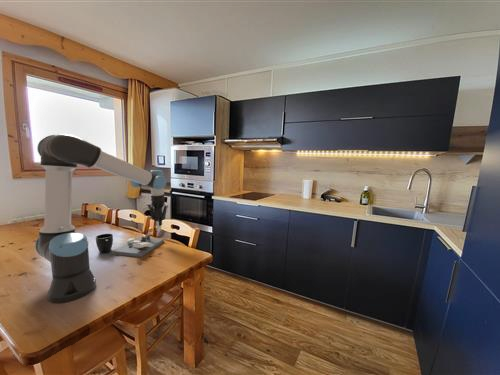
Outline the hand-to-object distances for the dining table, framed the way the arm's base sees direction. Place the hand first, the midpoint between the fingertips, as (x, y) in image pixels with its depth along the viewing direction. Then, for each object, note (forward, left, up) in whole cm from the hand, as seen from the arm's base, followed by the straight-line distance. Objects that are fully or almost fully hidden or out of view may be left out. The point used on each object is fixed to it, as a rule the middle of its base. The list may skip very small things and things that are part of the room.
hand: (158, 230), depth 134 cm
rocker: (-13, +3, -5) cm, 14 cm away
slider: (-10, +9, -8) cm, 15 cm away
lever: (0, +10, -7) cm, 12 cm away
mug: (-17, +24, -10) cm, 31 cm away
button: (-7, +15, -8) cm, 18 cm away
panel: (-7, +9, -10) cm, 15 cm away
